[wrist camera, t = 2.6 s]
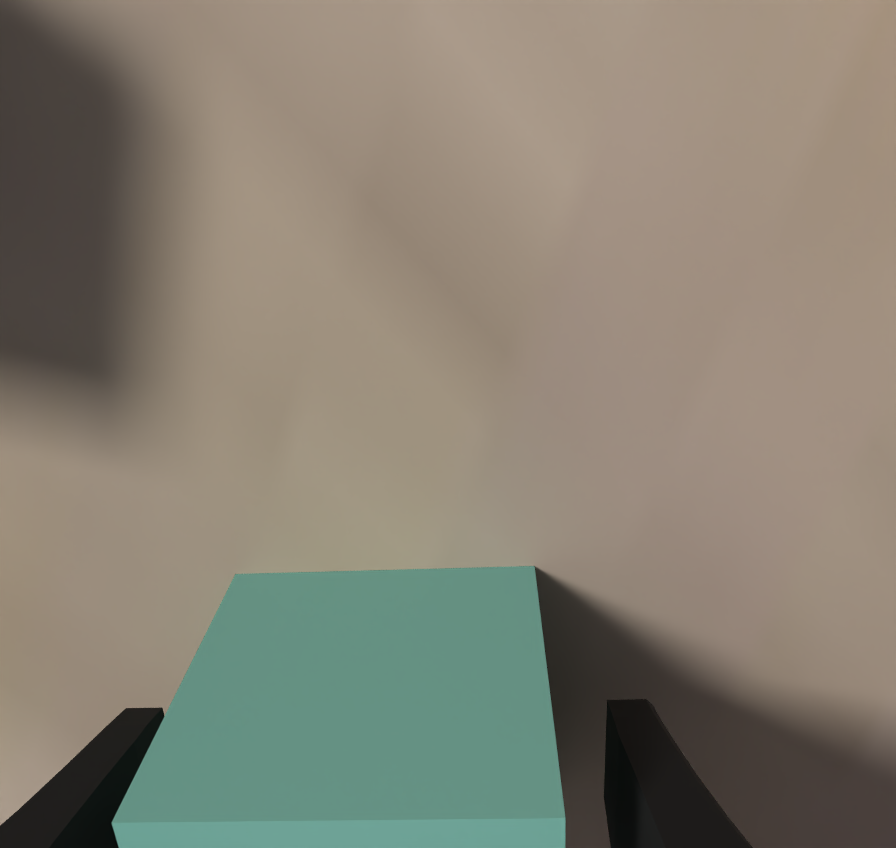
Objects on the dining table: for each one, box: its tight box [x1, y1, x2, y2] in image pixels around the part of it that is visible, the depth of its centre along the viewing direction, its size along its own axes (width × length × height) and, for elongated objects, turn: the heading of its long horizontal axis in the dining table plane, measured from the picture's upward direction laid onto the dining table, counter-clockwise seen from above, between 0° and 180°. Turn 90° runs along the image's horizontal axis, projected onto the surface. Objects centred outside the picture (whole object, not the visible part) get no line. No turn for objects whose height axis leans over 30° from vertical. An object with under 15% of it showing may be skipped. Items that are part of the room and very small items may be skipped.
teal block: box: [112, 566, 565, 848], centre depth 12 cm, size 5×5×5 cm
